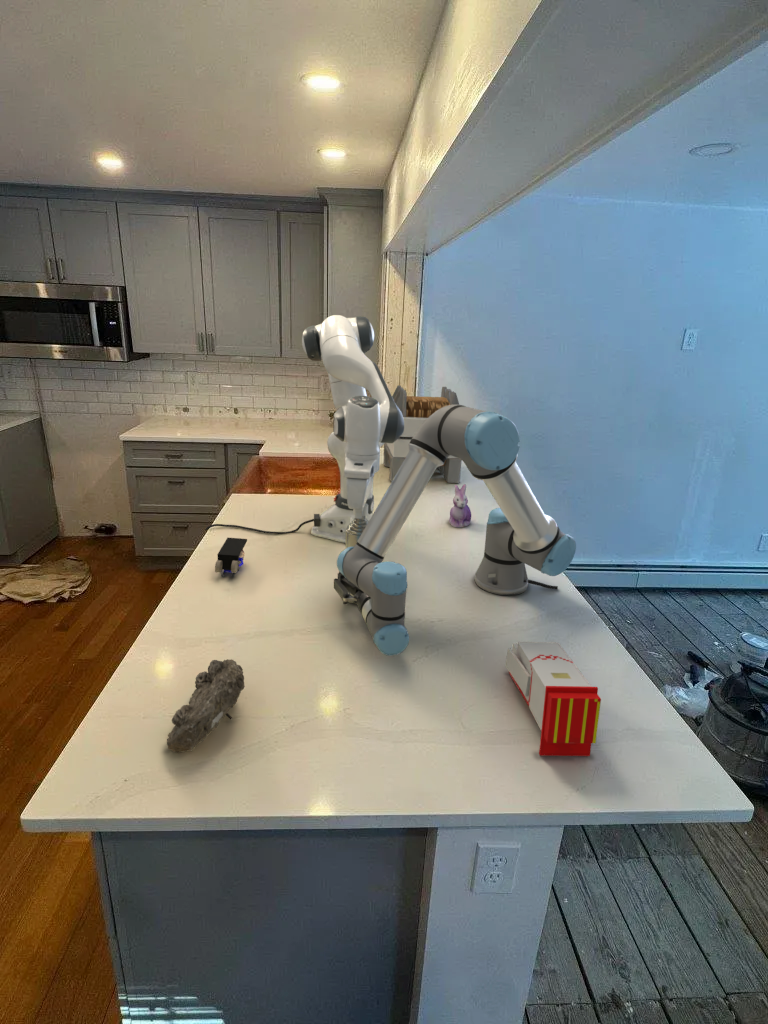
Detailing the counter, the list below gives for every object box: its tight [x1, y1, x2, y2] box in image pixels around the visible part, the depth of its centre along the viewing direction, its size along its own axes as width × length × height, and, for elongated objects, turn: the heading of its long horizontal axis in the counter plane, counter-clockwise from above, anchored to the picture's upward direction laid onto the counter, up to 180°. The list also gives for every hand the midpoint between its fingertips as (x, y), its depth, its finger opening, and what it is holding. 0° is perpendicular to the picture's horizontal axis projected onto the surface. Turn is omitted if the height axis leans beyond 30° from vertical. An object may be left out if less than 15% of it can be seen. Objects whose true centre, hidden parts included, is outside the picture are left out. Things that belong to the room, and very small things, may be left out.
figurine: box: [448, 483, 472, 528], centre depth 209 cm, size 9×10×15 cm
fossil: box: [166, 658, 245, 754], centre depth 106 cm, size 22×10×15 cm
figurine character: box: [214, 537, 248, 578], centre depth 166 cm, size 7×8×15 cm
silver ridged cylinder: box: [344, 516, 369, 605], centre depth 151 cm, size 8×8×26 cm
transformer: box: [383, 384, 463, 484], centre depth 268 cm, size 34×33×41 cm
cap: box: [353, 503, 368, 516], centre depth 146 cm, size 4×4×2 cm
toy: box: [505, 641, 602, 757], centre depth 113 cm, size 12×13×30 cm
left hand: (360, 514), depth 147 cm, fingers closed on cap, 4 cm apart
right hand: (355, 568), depth 157 cm, fingers closed on silver ridged cylinder, 8 cm apart
